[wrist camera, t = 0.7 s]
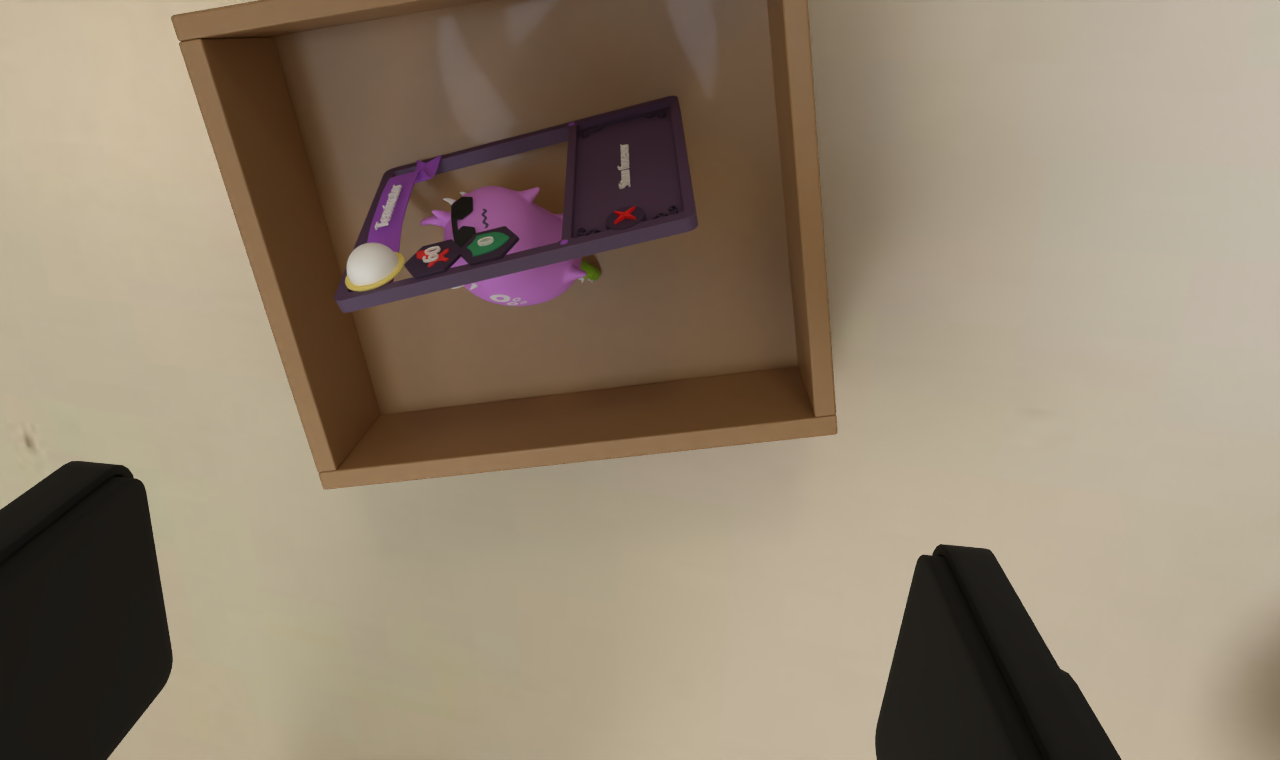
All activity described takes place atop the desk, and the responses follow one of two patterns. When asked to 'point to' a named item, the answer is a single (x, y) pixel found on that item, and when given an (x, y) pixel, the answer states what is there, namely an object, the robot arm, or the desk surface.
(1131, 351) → the desk surface
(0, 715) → the robot arm
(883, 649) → the desk surface
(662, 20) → the box
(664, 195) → the purple toy figure
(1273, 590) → the desk surface
